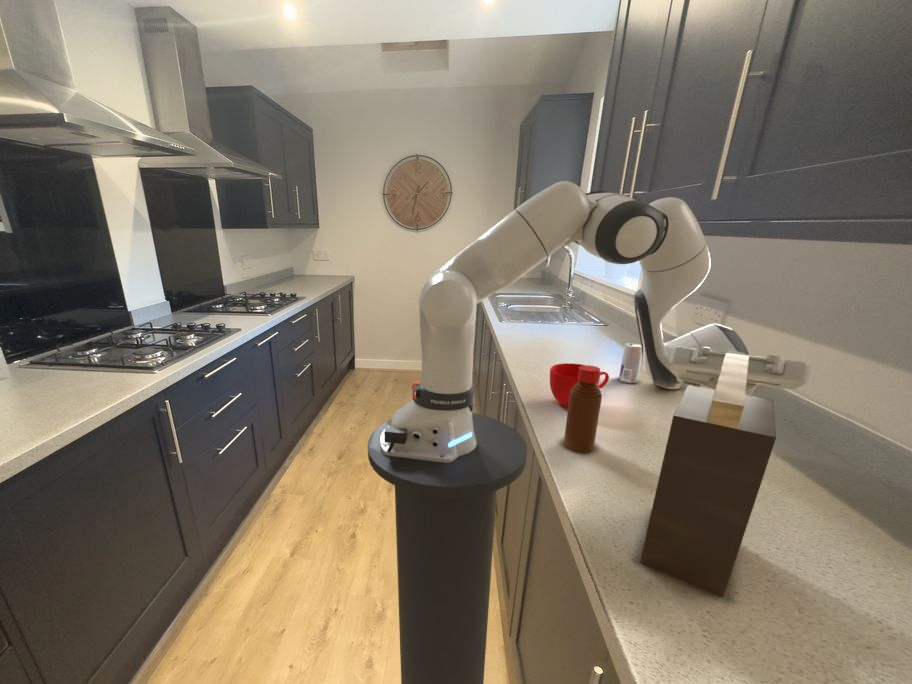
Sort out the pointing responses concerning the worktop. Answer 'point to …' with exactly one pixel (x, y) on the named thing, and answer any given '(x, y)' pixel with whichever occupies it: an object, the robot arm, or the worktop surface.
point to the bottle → (582, 417)
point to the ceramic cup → (567, 381)
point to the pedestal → (707, 489)
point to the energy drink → (631, 363)
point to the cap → (588, 374)
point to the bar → (730, 392)
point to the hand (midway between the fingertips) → (737, 355)
